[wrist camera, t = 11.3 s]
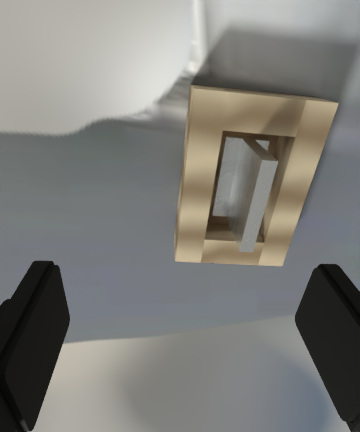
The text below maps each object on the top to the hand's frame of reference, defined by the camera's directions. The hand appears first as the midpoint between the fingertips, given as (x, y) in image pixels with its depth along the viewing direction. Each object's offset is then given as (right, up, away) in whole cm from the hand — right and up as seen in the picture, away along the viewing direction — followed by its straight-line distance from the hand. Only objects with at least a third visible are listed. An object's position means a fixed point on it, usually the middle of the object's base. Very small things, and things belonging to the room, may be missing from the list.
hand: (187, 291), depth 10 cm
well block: (+7, +8, +25) cm, 27 cm away
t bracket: (+7, +8, +24) cm, 26 cm away
